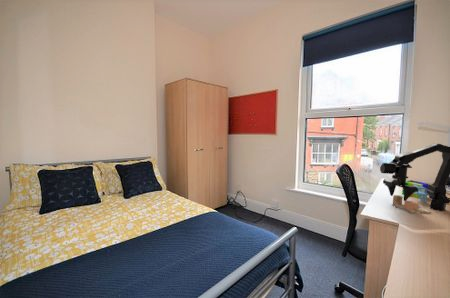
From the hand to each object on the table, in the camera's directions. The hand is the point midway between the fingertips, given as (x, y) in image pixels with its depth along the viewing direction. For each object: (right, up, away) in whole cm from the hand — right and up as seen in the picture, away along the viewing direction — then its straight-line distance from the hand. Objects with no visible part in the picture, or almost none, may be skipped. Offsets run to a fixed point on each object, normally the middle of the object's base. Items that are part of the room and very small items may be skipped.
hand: (398, 198), depth 129 cm
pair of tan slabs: (+6, -5, -6) cm, 10 cm away
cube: (0, -5, -8) cm, 10 cm away
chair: (+20, -5, +8) cm, 23 cm away
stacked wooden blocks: (0, -5, -5) cm, 7 cm away
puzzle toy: (+31, -4, +22) cm, 38 cm away
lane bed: (+3, -6, -1) cm, 7 cm away
